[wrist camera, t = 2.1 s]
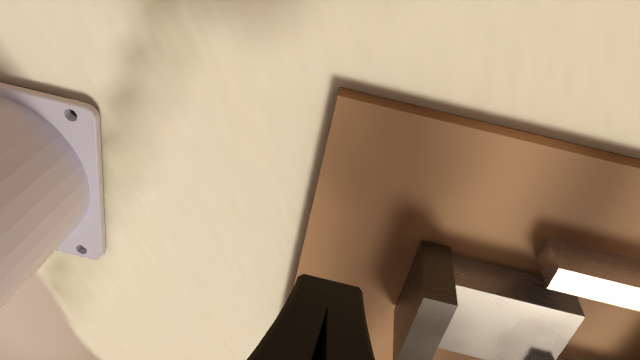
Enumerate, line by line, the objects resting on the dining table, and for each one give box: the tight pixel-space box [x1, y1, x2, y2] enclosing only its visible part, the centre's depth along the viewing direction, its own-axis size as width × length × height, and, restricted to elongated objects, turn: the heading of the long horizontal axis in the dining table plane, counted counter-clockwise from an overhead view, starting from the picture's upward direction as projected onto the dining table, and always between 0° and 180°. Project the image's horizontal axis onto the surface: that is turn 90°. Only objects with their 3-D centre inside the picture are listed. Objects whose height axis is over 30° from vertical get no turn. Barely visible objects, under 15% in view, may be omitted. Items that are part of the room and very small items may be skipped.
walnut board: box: [293, 87, 640, 360], centre depth 22 cm, size 18×14×1 cm
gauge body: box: [484, 237, 640, 360], centre depth 20 cm, size 8×7×3 cm
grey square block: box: [393, 240, 585, 360], centre depth 20 cm, size 6×6×3 cm
